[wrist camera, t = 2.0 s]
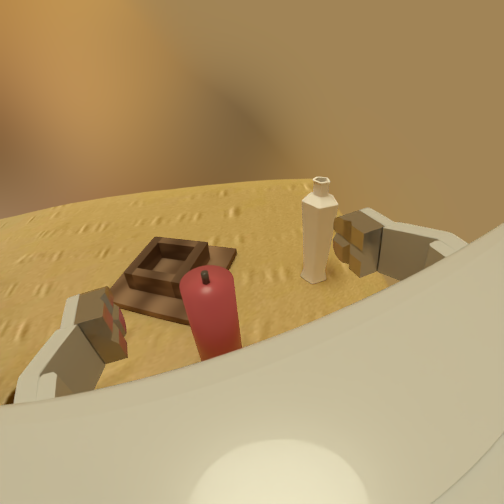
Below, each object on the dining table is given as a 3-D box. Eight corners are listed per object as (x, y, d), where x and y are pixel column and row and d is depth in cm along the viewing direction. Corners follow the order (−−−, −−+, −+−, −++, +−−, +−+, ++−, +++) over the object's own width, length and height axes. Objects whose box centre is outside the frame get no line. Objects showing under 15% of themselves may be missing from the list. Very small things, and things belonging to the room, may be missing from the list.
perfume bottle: (322, 289, 41) (333, 190, 32) (294, 279, 43) (298, 182, 34) (334, 271, 44) (345, 178, 35) (308, 262, 46) (313, 171, 37)
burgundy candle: (199, 380, 30) (167, 286, 22) (212, 349, 33) (190, 252, 25) (238, 389, 29) (221, 296, 21) (249, 357, 32) (239, 259, 24)
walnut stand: (104, 303, 40) (95, 283, 37) (153, 243, 52) (148, 225, 50) (199, 327, 36) (193, 305, 34) (236, 253, 48) (234, 232, 46)
